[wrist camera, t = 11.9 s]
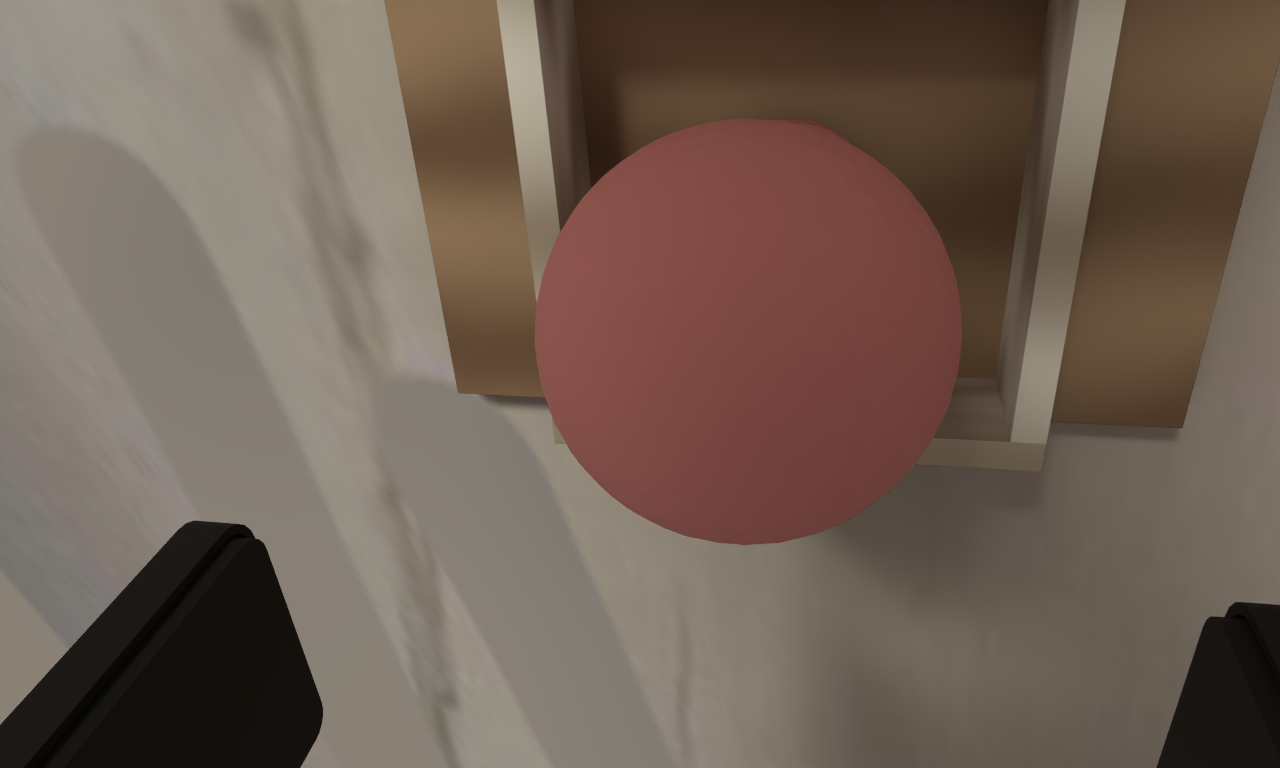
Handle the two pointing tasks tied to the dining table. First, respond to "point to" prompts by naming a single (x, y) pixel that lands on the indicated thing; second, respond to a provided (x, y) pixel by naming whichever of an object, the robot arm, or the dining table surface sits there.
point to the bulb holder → (900, 141)
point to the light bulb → (748, 331)
